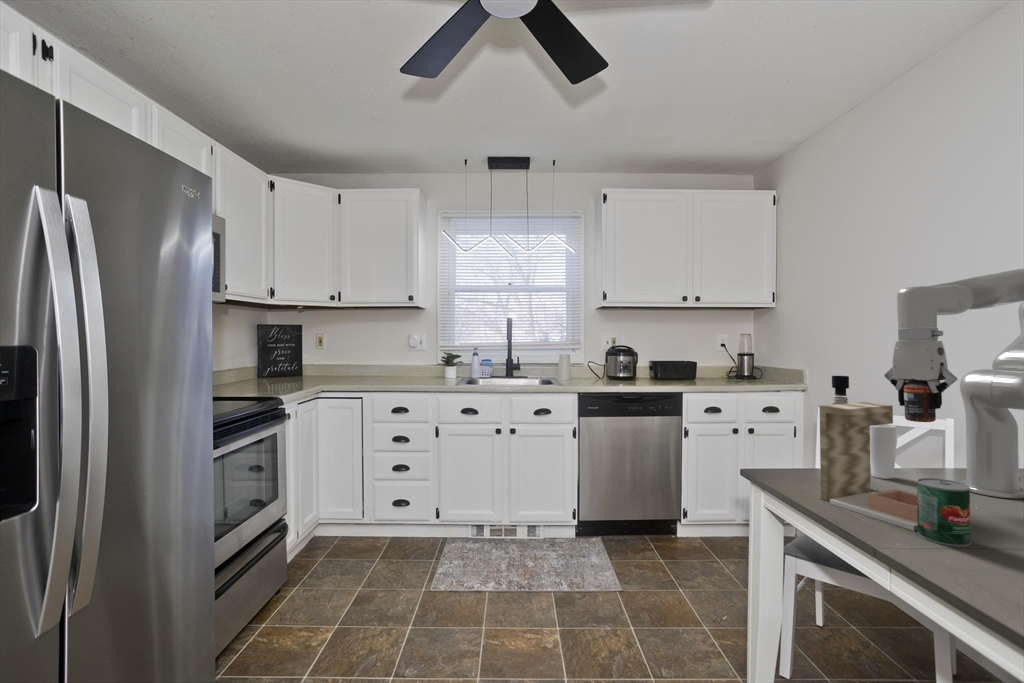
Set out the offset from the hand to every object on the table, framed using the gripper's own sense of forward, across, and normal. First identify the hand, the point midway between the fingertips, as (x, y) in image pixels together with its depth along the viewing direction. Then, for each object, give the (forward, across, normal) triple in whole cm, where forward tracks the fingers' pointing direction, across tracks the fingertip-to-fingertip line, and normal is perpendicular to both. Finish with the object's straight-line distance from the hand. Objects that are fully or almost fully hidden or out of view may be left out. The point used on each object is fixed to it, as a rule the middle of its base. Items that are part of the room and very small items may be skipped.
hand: (919, 406), depth 119 cm
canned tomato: (+23, -17, +24) cm, 38 cm away
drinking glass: (+23, +15, -9) cm, 29 cm away
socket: (+23, -4, +18) cm, 29 cm away
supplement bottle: (+4, 0, 0) cm, 4 cm away
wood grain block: (+23, +5, +17) cm, 29 cm away
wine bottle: (+23, +14, +9) cm, 28 cm away
